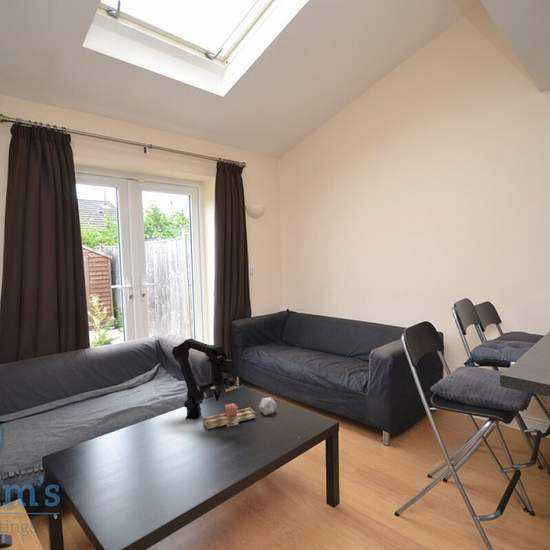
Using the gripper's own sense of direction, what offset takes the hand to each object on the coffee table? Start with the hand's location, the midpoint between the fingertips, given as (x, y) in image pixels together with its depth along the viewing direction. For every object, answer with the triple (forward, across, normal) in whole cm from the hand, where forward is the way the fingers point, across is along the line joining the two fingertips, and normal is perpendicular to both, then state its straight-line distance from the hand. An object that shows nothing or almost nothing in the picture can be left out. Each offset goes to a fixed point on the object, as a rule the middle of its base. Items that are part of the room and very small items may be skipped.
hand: (216, 400), depth 184 cm
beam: (+12, +6, -1) cm, 14 cm away
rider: (+9, +7, -1) cm, 12 cm away
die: (+12, +28, -1) cm, 31 cm away
